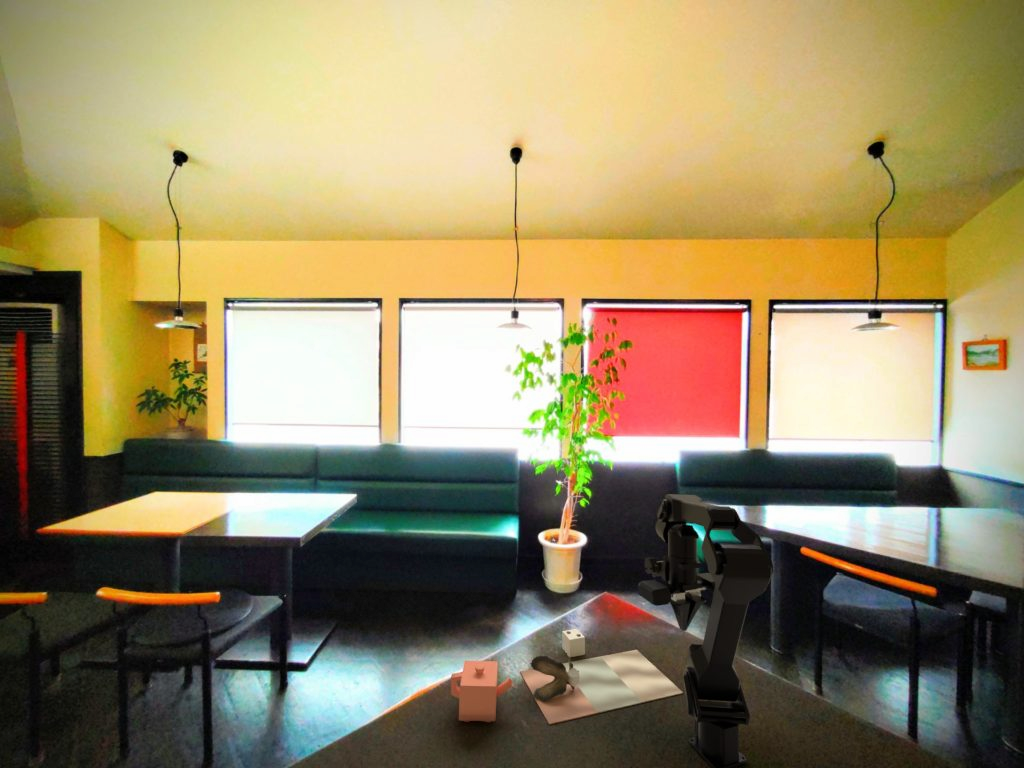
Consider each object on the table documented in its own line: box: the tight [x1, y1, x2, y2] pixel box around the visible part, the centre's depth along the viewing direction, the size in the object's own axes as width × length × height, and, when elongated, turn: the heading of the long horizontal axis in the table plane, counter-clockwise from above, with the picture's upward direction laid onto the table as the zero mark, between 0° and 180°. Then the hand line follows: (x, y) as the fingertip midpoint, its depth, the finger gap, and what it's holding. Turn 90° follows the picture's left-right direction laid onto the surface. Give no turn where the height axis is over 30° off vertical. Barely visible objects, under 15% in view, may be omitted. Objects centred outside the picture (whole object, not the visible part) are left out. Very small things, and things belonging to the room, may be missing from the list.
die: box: [561, 628, 586, 658], centre depth 100 cm, size 4×4×4 cm
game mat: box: [519, 649, 684, 726], centre depth 88 cm, size 16×30×1 cm, turn 108°
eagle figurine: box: [529, 655, 580, 702], centre depth 85 cm, size 8×7×9 cm
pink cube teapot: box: [450, 660, 514, 723], centre depth 79 cm, size 8×12×8 cm, turn 90°
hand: (683, 629), depth 87 cm, fingers closed
